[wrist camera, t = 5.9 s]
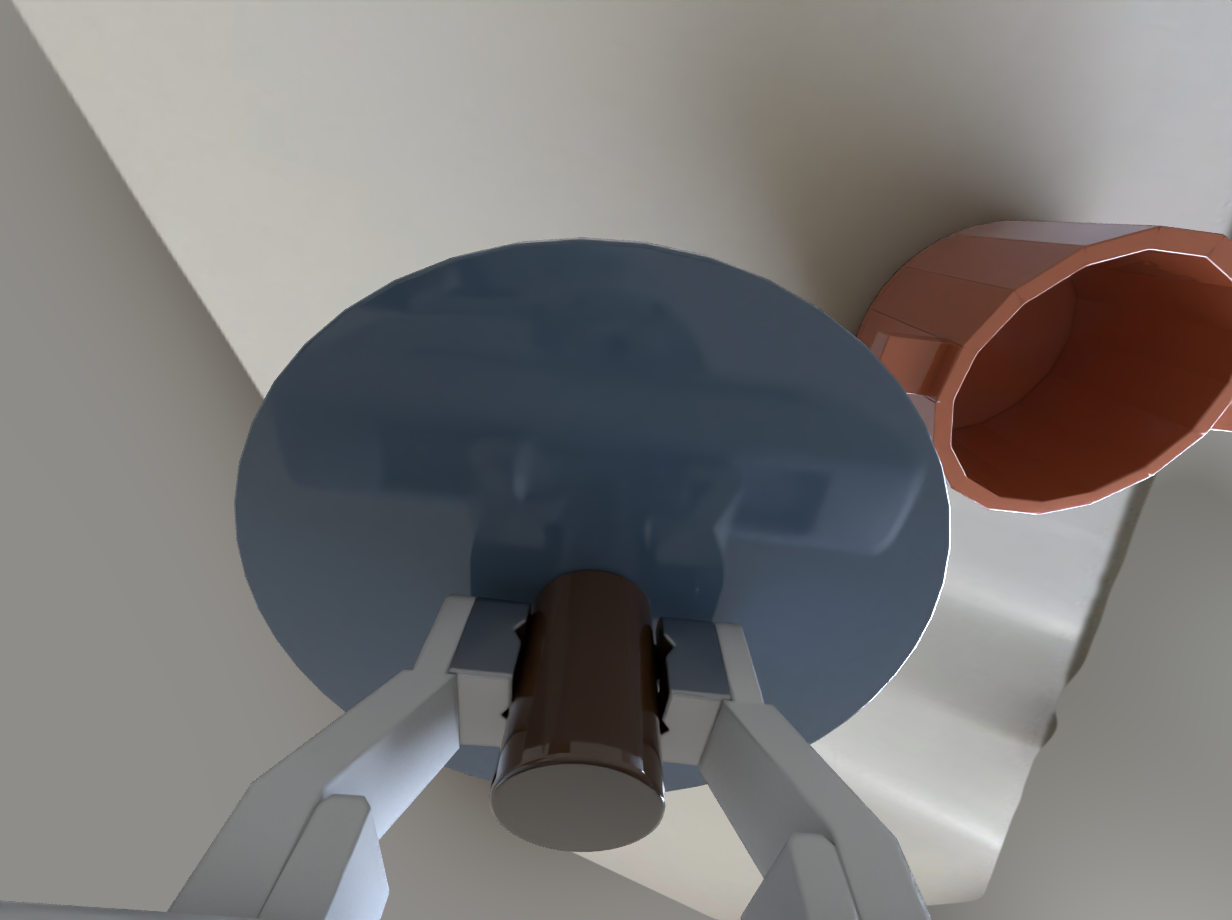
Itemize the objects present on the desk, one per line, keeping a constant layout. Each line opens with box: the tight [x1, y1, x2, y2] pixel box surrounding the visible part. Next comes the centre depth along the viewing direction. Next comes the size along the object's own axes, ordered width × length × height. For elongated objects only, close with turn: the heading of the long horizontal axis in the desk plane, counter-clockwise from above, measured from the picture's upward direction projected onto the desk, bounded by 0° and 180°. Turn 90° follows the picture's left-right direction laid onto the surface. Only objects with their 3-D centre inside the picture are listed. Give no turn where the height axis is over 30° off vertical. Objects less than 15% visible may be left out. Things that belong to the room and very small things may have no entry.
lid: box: [234, 237, 950, 852], centre depth 8 cm, size 14×14×5 cm
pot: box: [857, 220, 1232, 515], centre depth 24 cm, size 13×18×8 cm
